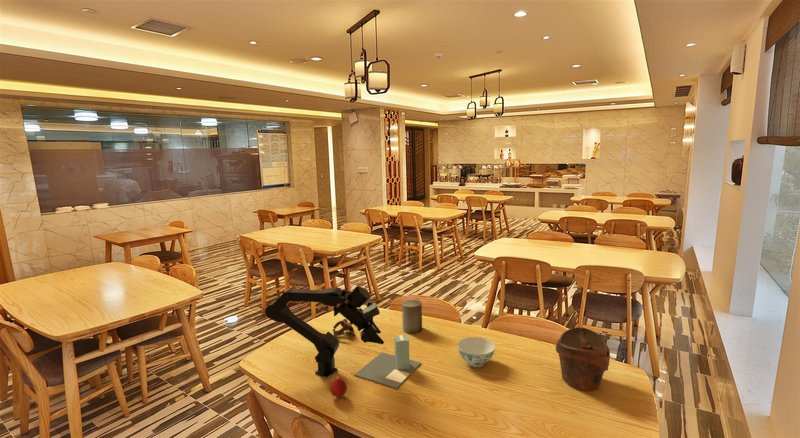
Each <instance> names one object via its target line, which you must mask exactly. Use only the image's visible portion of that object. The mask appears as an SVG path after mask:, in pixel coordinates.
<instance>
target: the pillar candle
mask: <svg viewBox="0 0 800 438" xmlns="http://www.w3.org/2000/svg"><path fill="white" fill-rule="evenodd" d="M422 305H423V304H422V301H421V300H419V299H412V298H411V299H406V300H403V301H402V302H401V316H402V330H403V332H405V334H417V333H421V332H422V331H423V311H422V310H423V309H422V308H423V307H422Z"/></svg>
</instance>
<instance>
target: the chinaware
mask: <svg viewBox="0 0 800 438" xmlns="http://www.w3.org/2000/svg"><path fill="white" fill-rule="evenodd" d="M457 349H458V353H459V355H460V356H461V358H462V359H463V360H464V362H465V361H466V363H467V364H468V365H469V366H471V367H474V368H481V367H483V366H484V365H485V364H486V363H488V362H489V361H490V360H491V359H492V357H493V356H494V353H495V350H496V346H495V343H494V342H493V341H492V340H490V339H487V338H484V337H477V336H466V337H464V338H461V339H460V340H458V342H457Z"/></svg>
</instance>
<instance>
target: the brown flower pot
mask: <svg viewBox="0 0 800 438" xmlns="http://www.w3.org/2000/svg"><path fill="white" fill-rule="evenodd" d="M555 352H556V353H557V354H558V357H559V362H560V363H559V365H560V370H561V378H562V380H563V381H564V382H565V384H567V385H568V386H569V387H571V388H572V389H575V390H578V391H582V392H591V391H592V392H593V391H596V390H597V389H598V388H599V387H600V386H601V382H602V380H603V377H604V373H606V371H607V372H608V371H609V366H610V358H611V354H610V349H609V346H608V344H607V342H606V340H605V339H604V338H603V337H602V336H601V335H599V333H597V332H595V331H593V330H592V329H589V328H586V327H572V328H570V329H568V330H566V331H564V332H563V333H562V334H561V335H560V337H559V338H558V340H557V342H556V345H555Z"/></svg>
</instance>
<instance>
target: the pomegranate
mask: <svg viewBox="0 0 800 438" xmlns="http://www.w3.org/2000/svg"><path fill="white" fill-rule="evenodd" d="M329 386H330V387H329V390H330V391H329V392H330V393H331V394H332V396H333V397H335V398H336V399H337V398H338V399H340V398H341V397H344V395H345V394H346V393H347V389H348V387H347V386H348V385H347V383H346V381H345V379H343V378H341V377H339V376H336V377H335V379H333V381H332V382H331V383H330V385H329Z"/></svg>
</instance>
